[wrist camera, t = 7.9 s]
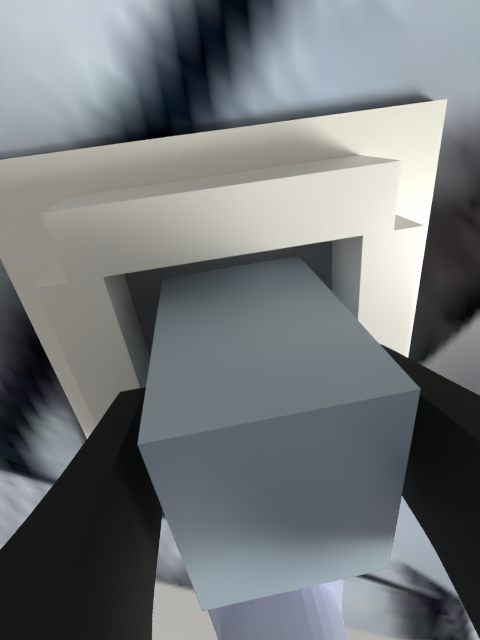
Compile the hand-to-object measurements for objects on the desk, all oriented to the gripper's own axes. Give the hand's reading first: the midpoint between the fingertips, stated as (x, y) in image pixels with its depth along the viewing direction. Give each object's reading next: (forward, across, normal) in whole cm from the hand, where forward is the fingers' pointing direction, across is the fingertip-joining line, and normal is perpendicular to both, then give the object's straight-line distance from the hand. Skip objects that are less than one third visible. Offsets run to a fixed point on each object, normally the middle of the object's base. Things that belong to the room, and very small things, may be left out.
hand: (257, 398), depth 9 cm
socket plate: (+3, 0, 0) cm, 3 cm away
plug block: (+3, 0, 0) cm, 3 cm away
